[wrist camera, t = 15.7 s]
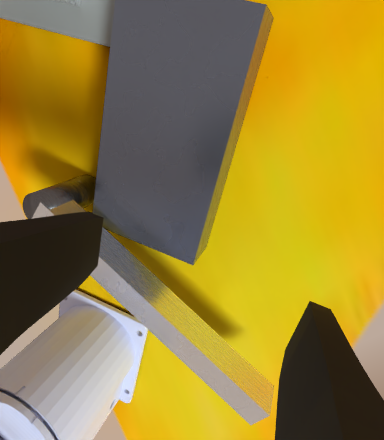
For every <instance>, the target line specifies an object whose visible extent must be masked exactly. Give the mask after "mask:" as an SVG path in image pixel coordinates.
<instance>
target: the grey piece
mask: <svg viewBox="0 0 384 440" xmlns="http://www.w3.org/2000/svg"><path fill="white" fill-rule="evenodd" d="M272 22H273V16H272V14H271V12H270V10H269V9H268V7H267V5H265V4H260V3H255V2H250V1H246V0H115V7H114V16H113V25H112V35H111V44H110V54H109V63H108V72H107V82H106V91H105V101H104V110H103V120H102V129H101V138H100V148H99V157H98V167H97V176H96V186H95V195H94V204H93V214H96V215H98V216H100V217H103V218H104V219H103V228H104V229H106V230H109V231H111V232H114V233H116V234H119V235H121V236H123V237H126V238H128V239H131V240H133V241H136V242H138V243H140V244H143V245H145V246H148V247H150V248H153V249H155V250H157V251H160V252H162V253H165V254H167V255H170V256H172V257H174V258H177V259H179V260H182V261H184V262H187V263H189V264H191V265H194V263H195V262H196V261H197V259H198V258H199V256H200V255H201V254H202V252H203V251H204V249H205V248H206V246H207V243H208V239H209V236H210V232H211V229H212V226H213V222H214V219H215V215H216V212H217V209H218V205H219V202H220V198H221V195H222V192H223V188H224V185H225V181H226V178H227V175H228V171H229V168H230V164H231V161H232V158H233V154H234V151H235V147H236V144H237V141H238V137H239V134H240V130H241V127H242V124H243V120H244V117H245V113H246V110H247V107H248V103H249V100H250V96H251V93H252V90H253V86H254V83H255V79H256V76H257V73H258V69H259V66H260V62H261V59H262V56H263V52H264V49H265V45H266V42H267V39H268V35H269V32H270V28H271V25H272Z"/></svg>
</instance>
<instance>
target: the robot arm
mask: <svg viewBox="0 0 384 440" xmlns="http://www.w3.org/2000/svg"><path fill="white" fill-rule="evenodd" d="M103 219H104V218H103V217H100V216H98V215H96V214H93V213H91V212H77V213H68V214H61V215H54V216H47V217H40V218H33V219H26V220H17V221H8V222H0V355H1V354H2V353H3V352H4V351H5V350H6V349H7V348H8V347H9V346H10V345H11V344H12V343H13V342H14V341H15V340H16V339H17V338H18V337H19V336H20V335H21V334H22V333H24V332H25V331H26V330H27V329H28V328H29V327H31V326H32V325H33V324H34V323H35V322H37V321H38V320H39V319H40V318H42V317H43V316H44V315H45V314H46V313H48V312H49V311H50V310H51V309H52V308H54V307H55V306H56V305H57V304H59V303H60V307H59V309H60V310H59V319H58V320H56V321H55V322H54V323H53V324H52V325H51V326H49V327H48V329H46V330H45V331H44V332H43V333H41V334H40V335H39V336H38V337H37V338H36V339H35V340H33V341H32V342H31V343H30V344H29V345H28V346H26V347H25V348H24V349H23V350H22V351H21V352H20V353H18V354H17V355H16V356H15V357H14V358H13V359H11V360H10V361H9V362H8V363H7V364H6V365H4V366H3V367H2V368H1V369H0V440H93V438H94V437H95V435H96V433H97V432H98V431H99V429H100V428H101V426H102V424H103V423H104V421H105V420H106V418H107V417H108V415H109V414H110V412H111V411H112V409H113V408H114V406H115V405H116V403H117V401H118V400H121V401H123V402H125V403H130V401H131V400H132V397H133V393H134V388H135V384H136V380H137V375H138V371H139V367H140V362H141V358H142V354H143V349H144V345H145V341H146V337H147V332H148V329H147V328H146V327H145V326H144V325H143V324H142V323H141V322H140V321H139V320H138V319H137V318H135V317H133V316H131V315H129V314H127V313H125V312H123V311H121V310H119V309H116V308H114V307H112V306H110V305H108V304H106V303H104V302H102V301H99V300H97V299H95V298H93V297H91V296H89V295H87V294H85V293H83V292H80V291H78V290H76V289H77V288H78V287H79V286H80V285H81V284H82V283H83V282H84V281H85V280H86V279H87V277H88V276H89V275H90V274H91V273H92V272H93V271H94V270H95V268H96V267H97V266H98V259H99V251H100V243H101V235H102V227H103ZM141 332H142V333H141ZM275 440H384V400H383V399H382V397H381V396H380V394H379V392H378V391H377V389H376V388H375V386H374V385H373V383H372V382H371V380H370V378H369V377H368V375H367V373H366V372H365V370H364V369H363V367H362V365H361V363H360V362H359V360H358V358H357V357H356V355H355V353H354V351H353V349H352V348H351V346H350V344H349V342H348V340H347V339H346V337H345V335H344V333H343V331H342V329H341V327H340V326H339V324H338V322H337V320H336V318H335V316H334V314H333V313H332V311H331V309H328V308H326V307H323V306H321V305H319V304H316V303H314V302H311V301H310V302H309V304H308V306H307V308H306V310H305V312H304V314H303V316H302V318H301V319H300V321H299V323H298V325H297V327H296V329H295V331H294V333H293V335H292V337H291V339H290V341H289V343H288V345H287V347H286V349H285V354H284V358H283V363H282V368H281V373H280V379H279V389H278V402H277V416H276V431H275Z"/></svg>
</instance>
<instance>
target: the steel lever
mask: <svg viewBox="0 0 384 440" xmlns="http://www.w3.org/2000/svg"><path fill="white" fill-rule="evenodd" d="M95 186H96V179H95V178H94V177H92V176H90V175H83V176H80V177H77V178H74V179H71V180H68V181H65V182H62V183H59V184H56V185H54V186H51V187H48V188H45V189H42V190H39V191H36V192H33V193H30V194H28V195H26V196H25V198H24V200H23V210H24V213H25V215H26V217H27V218H28V219H33V218H40V217H47V216H54V215H61V214H68V213H77V212H86V211H85V210H84V209H83V208H85V207H87V206H89V205H91V204H93V203H94V195H95ZM90 275H91V276H92V277H93V278H94V279H95V280H96V281H97V282H98V283H99V284H100V285H101V286H102V287H103V288H105V289H106V290H107V291H108V292H109V293H110V294H111V295H112V296H113V297H114V298H115V299H116V300H117V301H118V302H120V303H121V304H122V305H123V306H124V307H125V308H126V309H127V310H128V311H129V312H130V313H131V314H132V315H133V316H135V317H136V318H137V319H138V320H139V321H140V322H141V323H142V324H143V325H144V326H145V327H146V328H147V329H148V330H149V331H151V332H152V333H153V334H154V335H155V336H156V337H157V338H158V339H159V340H160V341H161V342H162V343H163V344H164V345H166V346H167V347H168V348H169V349H170V350H171V351H172V352H173V353H174V354H175V355H176V356H177V357H178V358H179V359H181V360H182V361H183V362H184V363H185V364H186V365H187V366H188V367H189V368H190V369H191V370H192V371H193V372H194V373H196V374H197V375H198V376H199V377H200V378H201V379H202V380H203V381H204V382H205V383H206V384H207V385H208V386H209V387H210V388H212V389H213V390H214V391H215V392H216V393H217V394H218V395H219V396H220V397H221V398H222V399H223V400H224V401H225V402H227V403H228V404H229V405H230V406H231V407H232V408H233V409H234V410H235V411H236V412H237V413H238V414H239V415H240V416H242V417H243V418H244V419H245V420H246V421H247V422H248V423H249V424H250V425H252V424H254V423H256V422H258V421H260V420H262V419H264V418H266V417H268V416H270V409H271V402H272V396H273V389H274V386H273V385H272V384H271V383H270V382H269V381H268V380H267V379H266V378H265V377H264V376H263V375H262V374H260V373H259V372H258V371H257V370H256V369H255V368H254V367H253V366H252V365H251V364H250V363H249V362H248V361H246V360H245V359H244V358H243V357H242V356H241V355H240V354H239V353H238V352H237V351H236V350H235V349H234V348H232V347H231V346H230V345H229V344H228V343H227V342H226V341H225V340H224V339H223V338H222V337H221V336H220V335H218V334H217V333H216V332H215V331H214V330H213V329H212V328H211V327H210V326H209V325H208V324H207V323H206V322H204V321H203V320H202V319H201V318H200V317H199V316H198V315H197V314H196V313H195V312H194V311H193V310H192V309H190V308H189V307H188V306H187V305H186V304H185V303H184V302H183V301H182V300H181V299H180V298H179V297H178V296H176V295H175V294H174V293H173V292H172V291H171V290H170V289H169V288H168V287H167V286H166V285H165V284H164V283H162V282H161V281H160V280H159V279H158V278H157V277H156V276H155V275H154V274H153V273H152V272H151V271H150V270H149V269H147V268H146V267H145V266H144V265H143V264H142V263H141V262H140V261H139V260H138V259H137V258H136V257H135V256H133V255H132V254H131V253H130V252H129V251H128V250H127V249H126V248H125V247H124V246H123V245H122V244H121V243H119V242H118V241H117V240H116V239H115V238H114V237H113V236H112V235H111V234H110V233H109V232H108V231H107V230H105V229H104V228H103V227H102V235H101V243H100V251H99V259H98V266H97V267H96V268H95V270H94V271H93V272H92V273H91V274H90Z"/></svg>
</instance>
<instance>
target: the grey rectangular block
mask: <svg viewBox="0 0 384 440" xmlns="http://www.w3.org/2000/svg"><path fill="white" fill-rule="evenodd" d="M54 1H58V2H62V3H67V4H71V5H75V6H79V7H80V0H54Z"/></svg>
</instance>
